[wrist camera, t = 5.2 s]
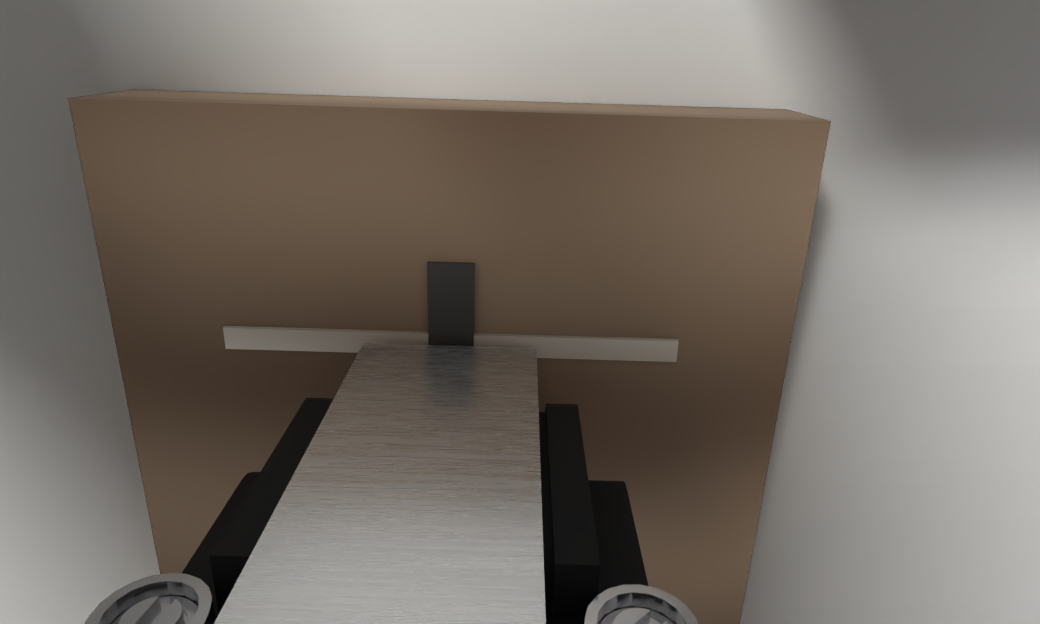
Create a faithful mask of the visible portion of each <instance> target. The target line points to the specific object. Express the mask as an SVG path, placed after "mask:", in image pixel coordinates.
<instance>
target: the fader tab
mask: <svg viewBox="0 0 1040 624" xmlns="http://www.w3.org/2000/svg"><path fill="white" fill-rule="evenodd" d="M214 624H546V611H545V582H544V553H543V524H542V494H541V465H540V436H539V407H538V378H537V349H536V348H513V347H479V346H445V345H411V344H377V343H363V345H362V347H361V349H360V351H359V352H358V354H357V356H356V358H355V360H354V362H353V364H352V366H351V367H350V369H349V371H348V373H347V375H346V377H345V379H344V381H343V382H342V384H341V386H340V388H339V390H338V392H337V394H336V396H335V397H334V399H333V401H332V403H331V405H330V407H329V409H328V411H327V412H326V414H325V416H324V418H323V420H322V422H321V424H320V426H319V427H318V429H317V431H316V433H315V435H314V437H313V439H312V441H311V442H310V444H309V446H308V448H307V450H306V452H305V454H304V456H303V457H302V459H301V461H300V463H299V465H298V467H297V469H296V471H295V472H294V474H293V476H292V478H291V480H290V482H289V484H288V486H287V487H286V489H285V491H284V493H283V495H282V497H281V499H280V501H279V503H278V504H277V506H276V508H275V510H274V512H273V514H272V516H271V518H270V519H269V521H268V523H267V525H266V527H265V529H264V531H263V533H262V534H261V536H260V538H259V540H258V542H257V544H256V546H255V548H254V549H253V551H252V553H251V555H250V557H249V559H248V561H247V563H246V564H245V566H244V568H243V570H242V572H241V574H240V576H239V578H238V579H237V581H236V583H235V585H234V587H233V589H232V591H231V593H230V594H229V596H228V598H227V600H226V602H225V604H224V606H223V608H222V609H221V611H220V613H219V615H218V617H217V619H216V621H215V623H214Z"/></svg>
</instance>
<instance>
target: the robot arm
mask: <svg viewBox="0 0 1040 624" xmlns="http://www.w3.org/2000/svg"><path fill="white" fill-rule="evenodd" d="M333 399H334V398H306V399H305V400H304V402H303V403H302V405H301V406H300V408H299V410H298V411H297V413H296V415H295V416H294V418H293V420H292V421H291V423H290V424H289V426H288V428H287V429H286V431H285V433H284V434H283V436H282V437H281V439H280V441H279V442H278V444H277V446H276V447H275V449H274V451H273V452H272V454H271V455H270V457H269V459H268V460H267V462H266V464H265V465H264V467H263V468H262V470H261V472H250V473H247V474H246V475H245V476H244V477H243V479H242V480H241V482H240V483H239V485H238V486H237V488H236V489H235V491H234V492H233V494H232V496H231V497H230V499H229V500H228V502H227V503H226V505H225V506H224V508H223V510H222V511H221V513H220V514H219V516H218V517H217V519H216V520H215V522H214V524H213V525H212V527H211V528H210V530H209V531H208V533H207V534H206V536H205V537H204V539H203V541H202V542H201V544H200V545H199V547H198V548H197V550H196V551H195V553H194V555H193V556H192V558H191V559H190V561H189V562H188V564H187V565H186V567H185V569H184V570H183V572H182V573H181V574H180V573H167V574H160V575H153V576H150V577H146V578H143V579H140V580H137V581H134V582H132V583H130V584H128V585H126V586H124V587H122V588H121V589H119V590H117V591H115V592H114V593H112V594H111V595H110V596H109V597H107V598H106V599H105V600H103V601H102V602H101V603H100V604H99V605H98V606H97V607H96V609H95V610H94V611H93V612H92V613H91V615H90V616H89V617H88V619H87V620H86V622H85V624H214V623H215V621H216V619H217V617H218V615H219V613H220V611H221V609H222V608H223V606H224V604H225V602H226V600H227V598H228V596H229V594H230V593H231V591H232V589H233V587H234V585H235V583H236V581H237V579H238V578H239V576H240V574H241V572H242V570H243V568H244V566H245V564H246V563H247V561H248V559H249V557H250V555H251V553H252V551H253V549H254V548H255V546H256V544H257V542H258V540H259V538H260V536H261V534H262V533H263V531H264V529H265V527H266V525H267V523H268V521H269V519H270V518H271V516H272V514H273V512H274V510H275V508H276V506H277V504H278V503H279V501H280V499H281V497H282V495H283V493H284V491H285V489H286V487H287V486H288V484H289V482H290V480H291V478H292V476H293V474H294V472H295V471H296V469H297V467H298V465H299V463H300V461H301V459H302V457H303V456H304V454H305V452H306V450H307V448H308V446H309V444H310V442H311V441H312V439H313V437H314V435H315V433H316V431H317V429H318V427H319V426H320V424H321V422H322V420H323V418H324V416H325V414H326V412H327V411H328V409H329V407H330V405H331V403H332V401H333ZM539 436H540V465H541V494H542V524H543V553H544V582H545V611H546V624H698V622H697V619H696V617H695V616H694V614H693V613H692V612H691V611H690V609H689V608H688V607H687V606H686V605H685V604H684V603H683V602H681V601H680V600H679V599H677V598H676V597H675V596H673V595H671V594H669V593H667V592H665V591H662V590H660V589H658V588H655V587H650V586H648V581H647V577H646V572H645V568H644V563H643V559H642V554H641V550H640V545H639V541H638V536H637V532H636V527H635V523H634V518H633V514H632V509H631V505H630V500H629V496H628V491H627V487H626V484H625V482H624V481H602V480H588V474H587V467H586V460H585V453H584V445H583V438H582V431H581V424H580V417H579V410H578V404H549V403H546V407H545V412H539Z"/></svg>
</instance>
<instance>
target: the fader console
mask: <svg viewBox="0 0 1040 624" xmlns="http://www.w3.org/2000/svg"><path fill="white" fill-rule="evenodd" d="M68 100H69V105H70V110H71V115H72V121H73V126H74V131H75V136H76V141H77V146H78V152H79V157H80V162H81V167H82V172H83V177H84V182H85V188H86V193H87V198H88V203H89V208H90V213H91V219H92V224H93V229H94V234H95V239H96V244H97V249H98V255H99V260H100V265H101V270H102V275H103V280H104V286H105V291H106V296H107V301H108V306H109V311H110V316H111V322H112V327H113V332H114V337H115V342H116V347H117V353H118V358H119V363H120V368H121V373H122V378H123V383H124V389H125V394H126V399H127V404H128V409H129V414H130V420H131V425H132V430H133V435H134V440H135V445H136V450H137V456H138V461H139V466H140V471H141V476H142V481H143V487H144V492H145V497H146V502H147V507H148V512H149V517H150V523H151V528H152V533H153V538H154V543H155V548H156V553H157V559H158V564H159V569H160V574H167V573H180V574H181V573H182V572H183V570H184V569H185V567H186V565H187V564H188V562H189V561H190V559H191V558H192V556H193V555H194V553H195V551H196V550H197V548H198V547H199V545H200V544H201V542H202V541H203V539H204V537H205V536H206V534H207V533H208V531H209V530H210V528H211V527H212V525H213V524H214V522H215V520H216V519H217V517H218V516H219V514H220V513H221V511H222V510H223V508H224V506H225V505H226V503H227V502H228V500H229V499H230V497H231V496H232V494H233V492H234V491H235V489H236V488H237V486H238V485H239V483H240V482H241V480H242V479H243V477H244V476H245V475H246V474H247V473H250V472H261V470H262V468H263V467H264V465H265V464H266V462H267V460H268V459H269V457H270V455H271V454H272V452H273V451H274V449H275V447H276V446H277V444H278V442H279V441H280V439H281V437H282V436H283V434H284V433H285V431H286V429H287V428H288V426H289V424H290V423H291V421H292V420H293V418H294V416H295V415H296V413H297V411H298V410H299V408H300V406H301V405H302V403H303V402H304V400H305V399H306V398H334V397H335V396H336V394H337V392H338V390H339V388H340V386H341V384H342V382H343V381H344V379H345V377H346V375H347V373H348V371H349V369H350V367H351V366H352V364H353V362H354V360H355V358H356V356H357V354H358V352H359V351H360V349H361V347H362V345H363V343H377V344H411V345H445V346H479V347H513V348H536V349H537V378H538V407H539V412H545V407H546V403H549V404H578V410H579V417H580V424H581V431H582V438H583V445H584V453H585V460H586V467H587V474H588V480H602V481H624V482H625V484H626V487H627V491H628V496H629V500H630V505H631V509H632V514H633V518H634V523H635V527H636V532H637V536H638V541H639V545H640V550H641V554H642V559H643V563H644V568H645V572H646V577H647V581H648V586H650V587H655V588H658V589H660V590H662V591H665V592H667V593H669V594H671V595H673V596H675V597H676V598H677V599H679V600H680V601H681V602H683V603H684V604H685V605H686V606H687V607H688V608H689V609H690V611H691V612H692V613H693V614H694V616H695V617H696V619H697V622H698V624H739V623H740V618H741V612H742V607H743V601H744V596H745V590H746V585H747V579H748V574H749V568H750V563H751V557H752V552H753V546H754V541H755V535H756V530H757V524H758V519H759V513H760V508H761V502H762V497H763V491H764V486H765V480H766V475H767V469H768V464H769V458H770V453H771V447H772V442H773V436H774V431H775V425H776V420H777V414H778V409H779V403H780V398H781V392H782V387H783V381H784V376H785V370H786V365H787V359H788V354H789V348H790V343H791V337H792V332H793V326H794V321H795V315H796V310H797V304H798V299H799V293H800V288H801V282H802V277H803V271H804V266H805V260H806V255H807V249H808V244H809V238H810V233H811V227H812V222H813V216H814V211H815V205H816V200H817V194H818V189H819V183H820V178H821V172H822V167H823V161H824V156H825V150H826V145H827V139H828V134H829V128H830V123H831V121H827V120H824V119H820V118H816V117H813V116H809V115H805V114H802V113H798V112H794V111H791V110H786V109H753V108H720V107H687V106H655V105H622V104H589V103H556V102H523V101H490V100H457V99H424V98H391V97H358V96H325V95H293V94H260V93H227V92H194V91H161V90H128V91H120V92H112V93H105V94H97V95H89V96H82V97H74V98H68Z"/></svg>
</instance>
